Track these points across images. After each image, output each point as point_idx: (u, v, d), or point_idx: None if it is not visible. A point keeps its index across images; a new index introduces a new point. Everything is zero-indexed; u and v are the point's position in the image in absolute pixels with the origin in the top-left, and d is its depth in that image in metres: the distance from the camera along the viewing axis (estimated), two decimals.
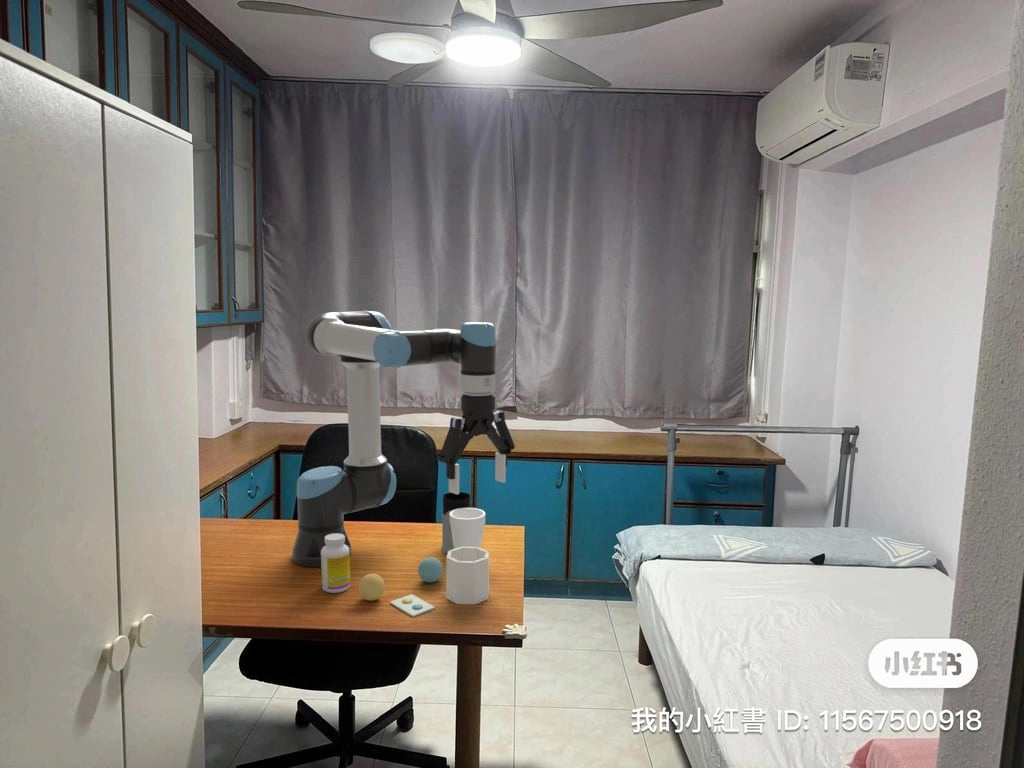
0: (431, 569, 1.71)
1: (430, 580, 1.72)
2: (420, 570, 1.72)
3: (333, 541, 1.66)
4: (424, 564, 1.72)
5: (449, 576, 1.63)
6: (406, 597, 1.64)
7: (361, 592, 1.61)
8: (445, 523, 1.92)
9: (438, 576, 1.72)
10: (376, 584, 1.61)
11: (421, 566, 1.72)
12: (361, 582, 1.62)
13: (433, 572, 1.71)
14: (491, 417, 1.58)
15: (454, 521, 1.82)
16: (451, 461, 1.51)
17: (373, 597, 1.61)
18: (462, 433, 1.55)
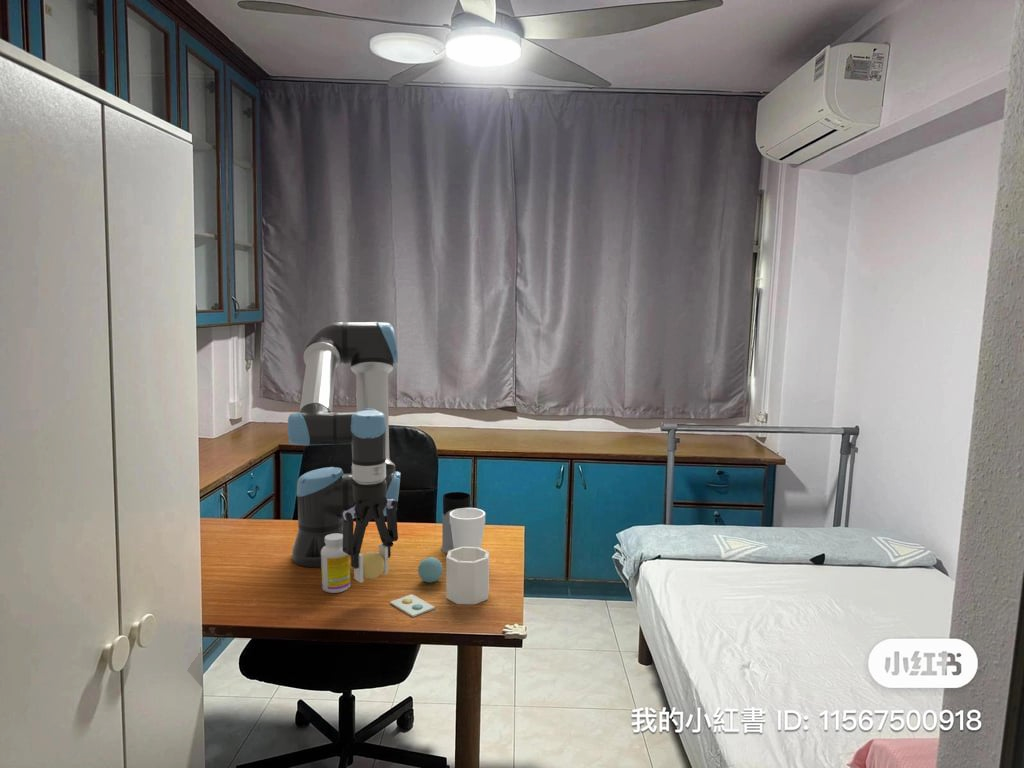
0: (431, 569, 1.71)
1: (430, 580, 1.72)
2: (420, 570, 1.72)
3: (333, 541, 1.66)
4: (424, 564, 1.72)
5: (449, 576, 1.63)
6: (406, 597, 1.64)
7: None
8: (445, 523, 1.92)
9: (438, 576, 1.72)
10: (376, 562, 1.61)
11: (421, 566, 1.72)
12: None
13: (433, 572, 1.71)
14: (384, 501, 1.62)
15: (454, 521, 1.82)
16: (354, 553, 1.59)
17: (373, 574, 1.61)
18: (357, 521, 1.60)
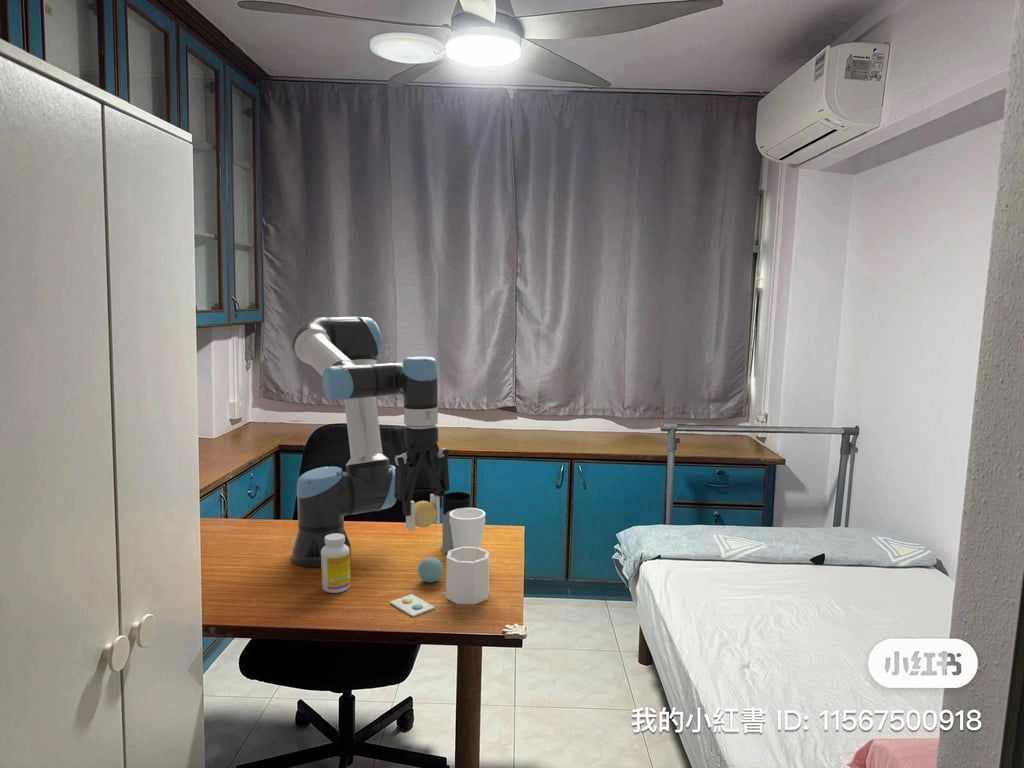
0: (431, 569, 1.71)
1: (430, 580, 1.72)
2: (420, 570, 1.72)
3: (333, 541, 1.66)
4: (424, 564, 1.72)
5: (449, 576, 1.63)
6: (406, 597, 1.64)
7: None
8: (445, 523, 1.92)
9: (438, 576, 1.72)
10: (428, 509, 1.59)
11: (421, 566, 1.72)
12: None
13: (433, 572, 1.71)
14: (435, 449, 1.61)
15: (454, 521, 1.82)
16: (406, 499, 1.57)
17: (425, 522, 1.59)
18: (409, 468, 1.59)
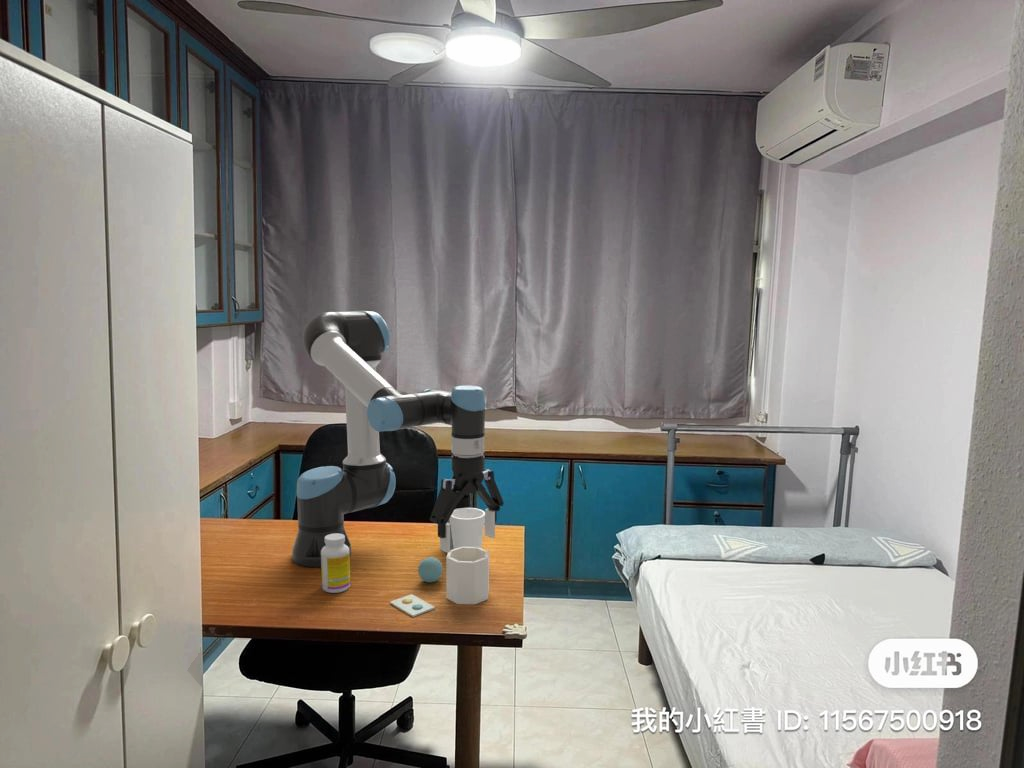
0: (431, 569, 1.71)
1: (430, 580, 1.72)
2: (420, 570, 1.72)
3: (333, 541, 1.66)
4: (424, 564, 1.72)
5: (449, 576, 1.63)
6: (406, 597, 1.64)
7: None
8: None
9: (438, 576, 1.72)
10: None
11: (421, 566, 1.72)
12: None
13: (433, 572, 1.71)
14: (481, 476, 1.64)
15: (454, 521, 1.82)
16: (442, 521, 1.58)
17: None
18: (453, 493, 1.61)
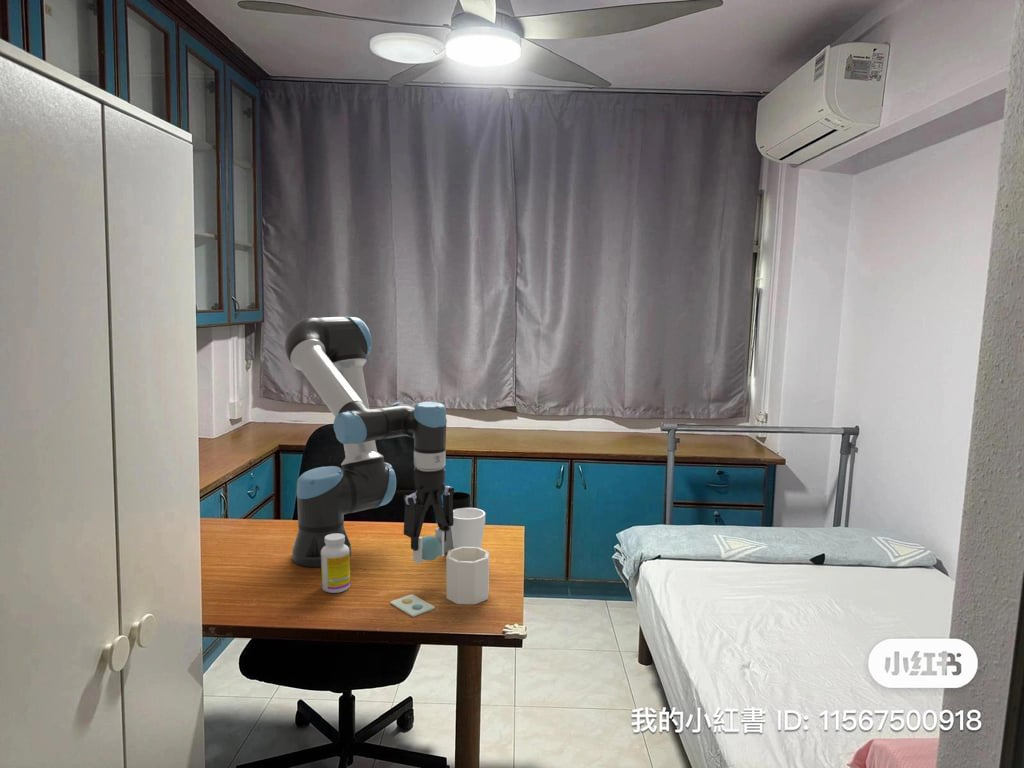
0: (430, 547, 1.71)
1: (428, 558, 1.71)
2: None
3: (333, 541, 1.66)
4: (423, 542, 1.71)
5: (449, 576, 1.63)
6: (406, 597, 1.64)
7: None
8: None
9: (437, 554, 1.72)
10: None
11: None
12: None
13: (431, 550, 1.71)
14: (442, 488, 1.72)
15: (454, 521, 1.82)
16: (415, 536, 1.69)
17: None
18: (418, 506, 1.70)
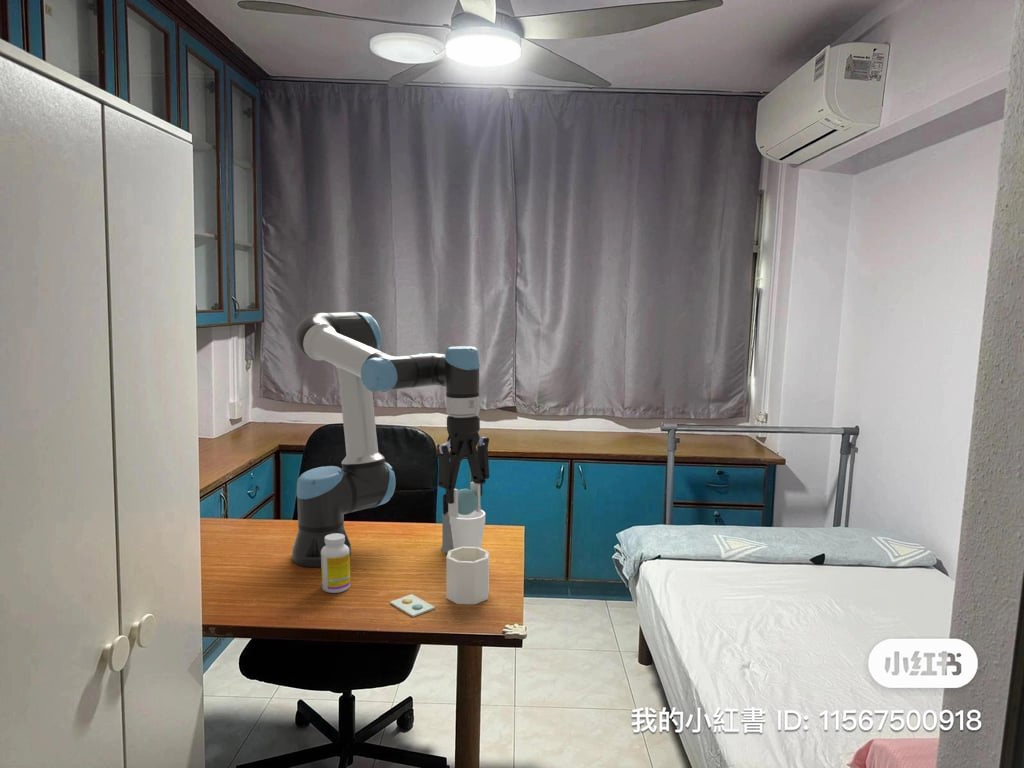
0: (466, 500, 1.61)
1: (465, 511, 1.62)
2: None
3: (333, 541, 1.66)
4: (458, 494, 1.62)
5: (449, 576, 1.63)
6: (406, 597, 1.64)
7: None
8: (445, 523, 1.92)
9: (473, 507, 1.62)
10: None
11: None
12: None
13: (468, 503, 1.61)
14: (476, 437, 1.63)
15: (454, 521, 1.82)
16: (450, 487, 1.60)
17: None
18: (452, 456, 1.61)
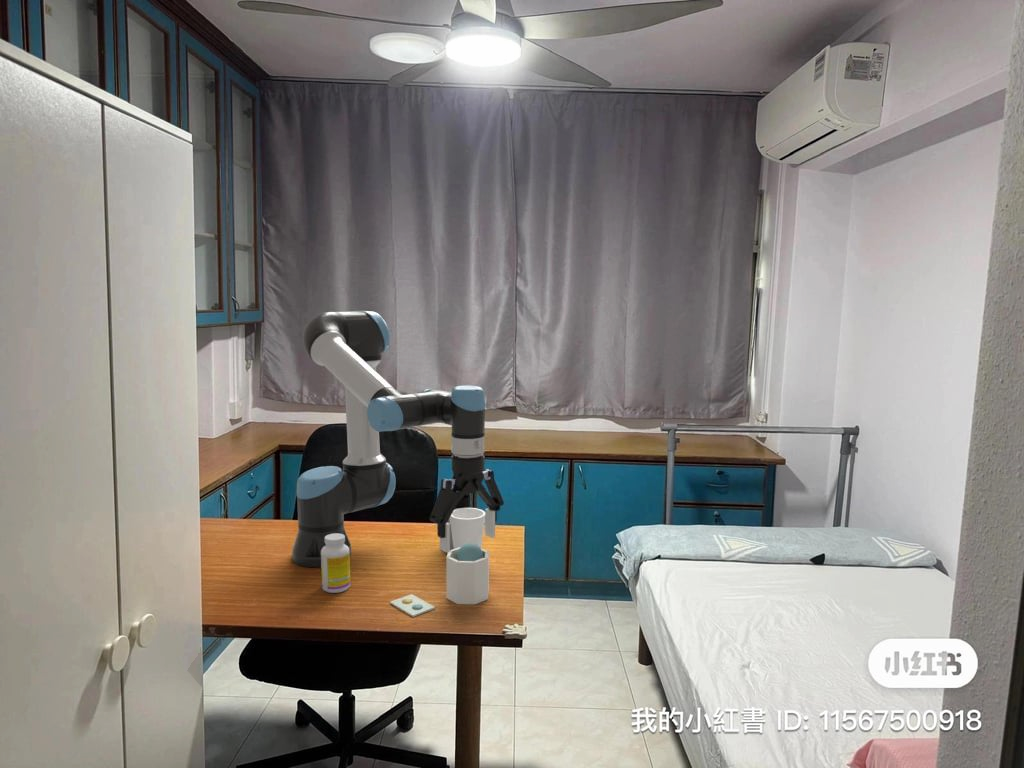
0: (475, 546, 1.65)
1: (470, 557, 1.64)
2: (462, 546, 1.66)
3: (333, 541, 1.66)
4: (468, 543, 1.67)
5: (449, 576, 1.63)
6: (406, 597, 1.64)
7: None
8: None
9: (478, 558, 1.64)
10: None
11: (465, 544, 1.66)
12: None
13: (475, 549, 1.65)
14: (481, 476, 1.64)
15: (454, 521, 1.82)
16: (442, 521, 1.58)
17: None
18: (452, 493, 1.61)
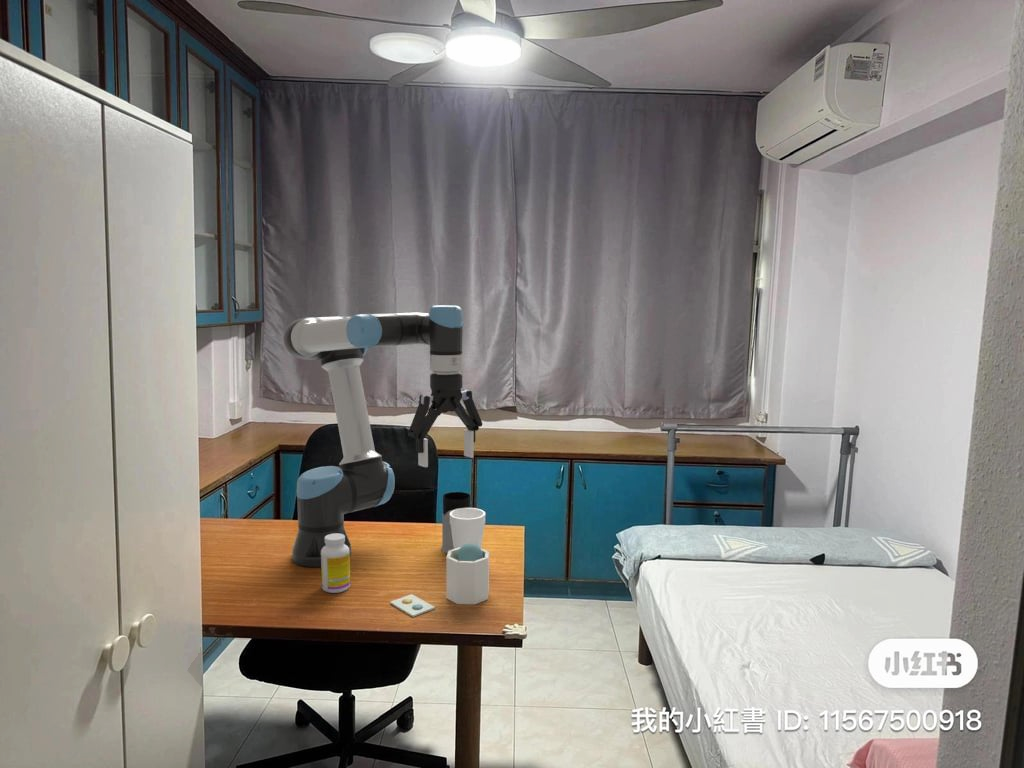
0: (475, 546, 1.65)
1: (470, 557, 1.64)
2: (462, 546, 1.66)
3: (333, 541, 1.66)
4: (468, 543, 1.67)
5: (449, 576, 1.63)
6: (406, 597, 1.64)
7: None
8: (445, 523, 1.92)
9: (478, 558, 1.64)
10: None
11: (465, 544, 1.66)
12: None
13: (475, 549, 1.65)
14: (459, 395, 1.67)
15: (454, 521, 1.82)
16: (420, 436, 1.61)
17: None
18: (431, 410, 1.64)
